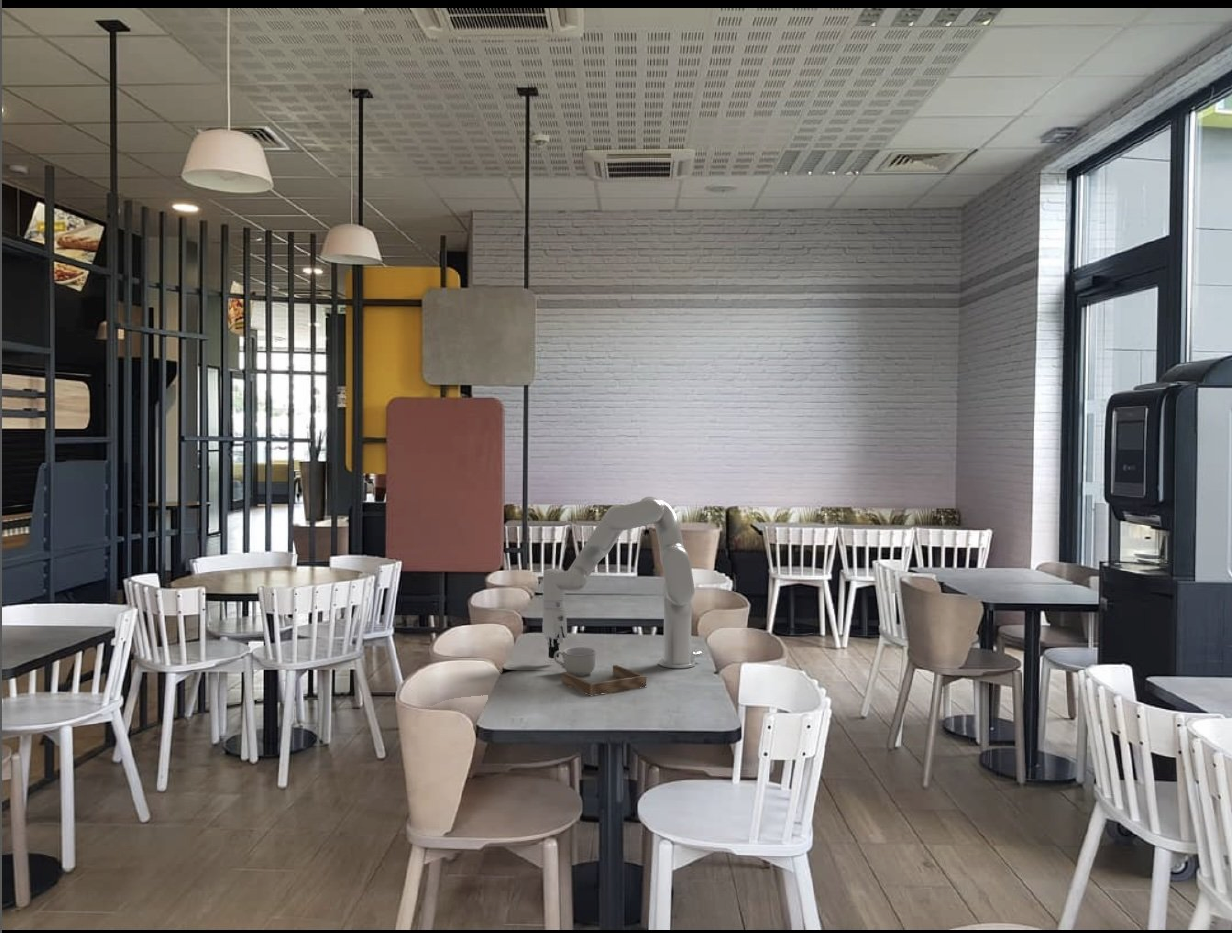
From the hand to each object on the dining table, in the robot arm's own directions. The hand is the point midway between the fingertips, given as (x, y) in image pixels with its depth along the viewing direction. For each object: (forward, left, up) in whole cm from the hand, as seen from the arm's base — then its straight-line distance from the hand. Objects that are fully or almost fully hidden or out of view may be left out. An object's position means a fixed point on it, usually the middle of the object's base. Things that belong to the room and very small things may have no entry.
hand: (553, 657), depth 337 cm
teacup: (0, +15, -3) cm, 15 cm away
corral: (0, +33, -3) cm, 33 cm away
